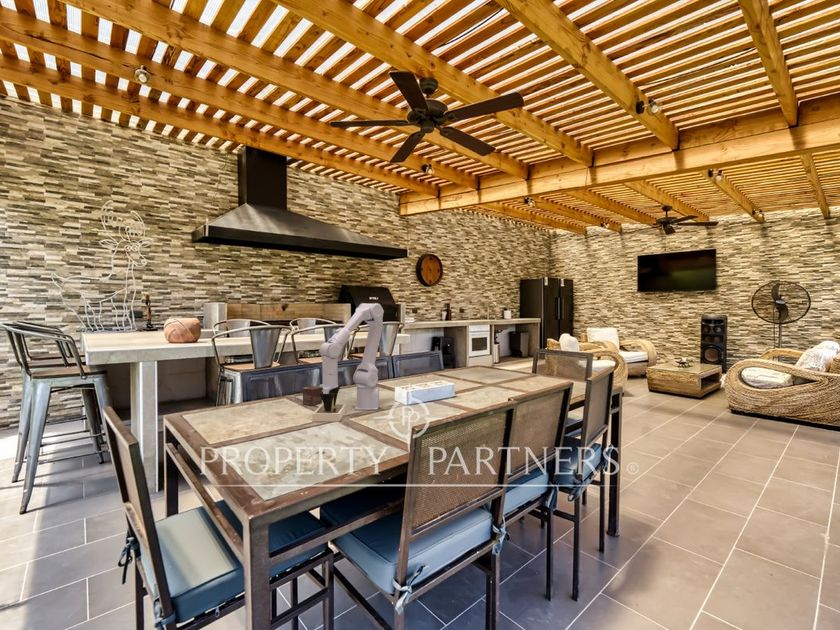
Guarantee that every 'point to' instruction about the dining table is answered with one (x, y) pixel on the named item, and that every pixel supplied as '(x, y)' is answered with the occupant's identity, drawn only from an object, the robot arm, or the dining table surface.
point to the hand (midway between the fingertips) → (330, 408)
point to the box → (312, 395)
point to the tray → (329, 414)
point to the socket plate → (336, 410)
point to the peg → (332, 406)
